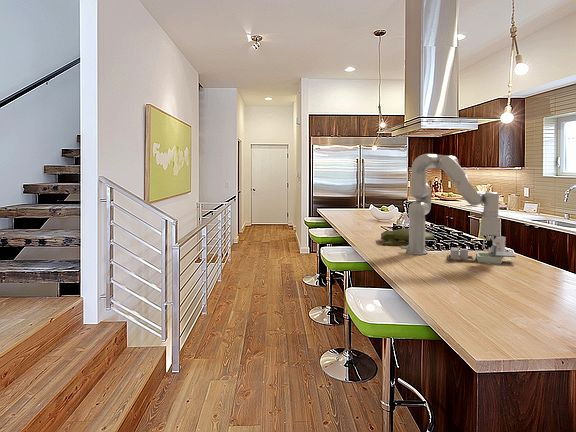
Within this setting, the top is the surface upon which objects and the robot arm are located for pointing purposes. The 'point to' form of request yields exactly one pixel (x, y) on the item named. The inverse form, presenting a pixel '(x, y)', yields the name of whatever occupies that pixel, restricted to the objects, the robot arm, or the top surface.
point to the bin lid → (500, 254)
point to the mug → (497, 244)
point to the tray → (461, 259)
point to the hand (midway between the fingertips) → (489, 247)
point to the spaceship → (400, 237)
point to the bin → (487, 258)
